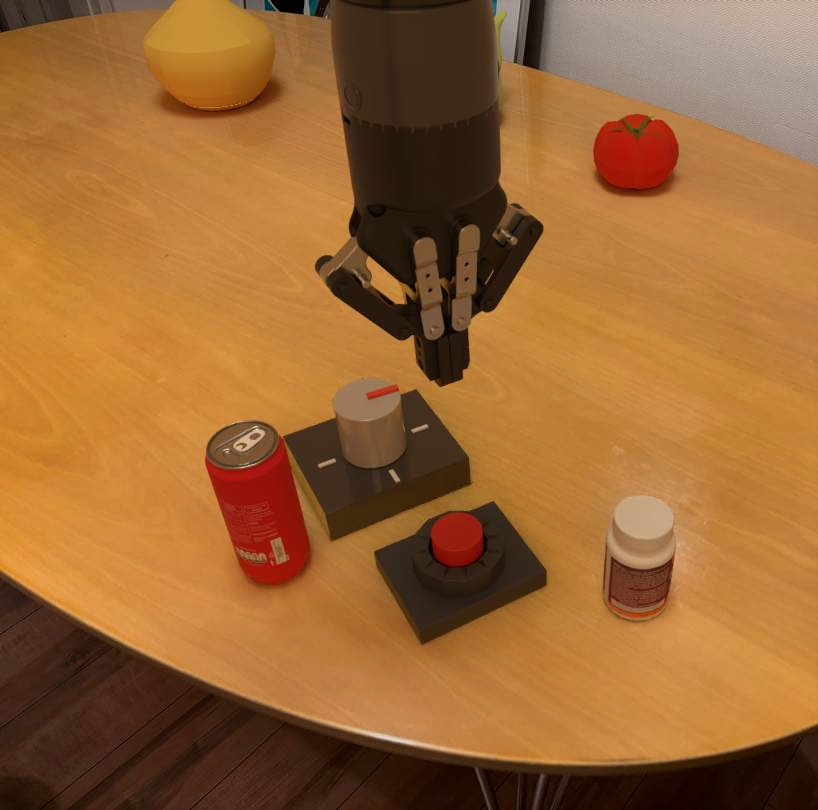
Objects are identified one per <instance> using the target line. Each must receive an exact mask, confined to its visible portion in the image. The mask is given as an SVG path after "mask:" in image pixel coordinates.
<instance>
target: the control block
mask: <svg viewBox="0 0 818 810" xmlns="http://www.w3.org/2000/svg"><path fill="white" fill-rule="evenodd" d="M451 513H466V514H469V515H472V516H474V517H475V518H476V519H477V520H478V521H479V522H480V523H481V526H482V530H483V552H482V554H481V556H480V557H479V558H478V559H477V560H476V561H475V562H473V563H472V564H470V565H467V566H464V567H450V566H446V565H444V564H442V563H440V562H439V561H438V560H437V559H436V557H435V556H434V553H433V547H432V538H431V530H432V527H433V525H434V524H435V522H436V521H437V520H438V519H440V518H441V517H443V516H445V515H447V514H451ZM373 554H374V560H375V565H376V568H377V570H378V572H379V573H380V575H381V576H382V579H383V580H384V582H385V584H386V585H387V587H388V589H389V591H390V592H391V594H392V596H393V598H394V599H395V601H396V602H397V604H398V606H399V609H400V610H401V612H402V613H403V615H404V616H405V618H406V620H407V622H408V623H409V625H410V627H411V629H412V631H413V632H414V634H415V636H416V638H417V639H418V641H419V642H420V644H421V645H424V644H426V643H428V642H431V641H433V640H435V639H436V638H439V637H441V636H444V635H445V634H447V633H450V632H451V631H454V630H456V629H458V628H460V627H462V626H464V625H466V624H468V623H471V622H472V621H475V620H477V619H479V618H481V617H483V616H485V615H487V614H489V613H491V612H493V611H495V610H498V609H500V608H502V607H504V606H506V605H508V604H510V603H512V602H514V601H516V600H518V599H521V598H522V597H525V596H527V595H529V594H531V593H534V592H536V591H537V590H539V589H541V588H543V587H545V586H547V579H548V577H547V576H548V575H547V573H548V570H547V569H546V568H545V566H544V565H543V564H542V562H541V561H540V560H539V559H538V557H537V555H536V554H535V553H534V552H533V550H532V549H531V548H530V546H529V545H528V544H527V543H526V541H525V540H524V538H523V537H522V536H521V535H520V533H519V532H518V530H517V529H516V528H515V527H514V526H513V524H512V523H511V522H510V520H509V519H508V518H507V516H506V515H505V513H504V512H503V511H502V510H501V508H500V507H499V506H498V504H497V503H496V502H495V500H492V501H489V502H487V503H485V504H483V505H480V506H478V507H475V508H473V509H471V510H448V511H445V512H443V513H441V514H438V515H435V516H433V517H431V518H428V519H427V520H426V521H424V523H423V524H422V525H421V526H420V528H419V529H418V530H417V531H416V532H415V533H414V534H412V535H409V536H407V537H405V538H402V539H399V540H397V541H395V542H392V543H390V544H388V545H386V546H384V547H380V548H378V549H376V550H374V551H373Z"/></svg>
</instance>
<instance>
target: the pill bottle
mask: <svg viewBox="0 0 818 810" xmlns="http://www.w3.org/2000/svg"><path fill="white" fill-rule="evenodd" d="M612 516H613V517H612V523H611V525H609V527H608V530H607V531H606V534H605V546H604V547H605V549H604V563H603V577H602V578H603V579H602V596H603V600H604V602H605V604H606V606H607V607H608V609H609V610H610V611H611V612H612V613H614V614H615V615H616V616H618V617H620V618H622V619H624V620H628V621H638V622H639V621H646V620H650V619H653V618H656V617H657V616H659V615H660V614H661V613H662V612H663V611H664V610H665V609H666V606H667V604H668V601H669V597H670V592H671V591H670V590H671V584H672V578H673V572H674V564H675V558H676V551H677V538H676V537H677V536H676V534H675V532H674V531H675V530H674V529H675V528H674V527H675V515H674V512H673V510H672V509H671V507H670V506H669V505H668V504H667V503H666V502H665V501H664V500H662V499H660V498H658V497H655V496H651V495H646V494H637V495H632V496H628V497H625V498H624V499H622V500H621V501H620V502H619V503H618V504H617V505H616V507H615V508H614V511H613V515H612Z"/></svg>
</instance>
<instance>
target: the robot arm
mask: <svg viewBox="0 0 818 810" xmlns="http://www.w3.org/2000/svg"><path fill="white" fill-rule="evenodd" d="M329 3H330V6H329V7H330V44H331V53H332V58H333V59H332V60H333V67H334V74H335V81H336V88H337V94H338V101H339V109H340V114H341V115H340V116H341V123H342V126H343V127H342V128H343V135H344V141H345V142H344V143H345V148H346V154H347V155H346V156H347V162H348V169H349V177H350V185H351V190H352V195H353V208H352V212H351V215H350V217H349V221H348V233H349V236H350V238H349V239H348V240H347V241H346V242H345V243H344V245H342V246H341V248H340V249H339V250H338V251H337V252H336V253H335V255H334V256H333V255H331V254H325V255H322V256H320V257H319V258H317V259H316V261H315V264H314V270H315V272H316V274H317V275H318V276H319V278H320V280H321V281H322V282H323V283H324V285H325V286H326V288H328V289H329V291H330V292H331V294H332V295H333V296H334V297H336V298H337V299H339V300H340V301H341V302H342V303H344V304H346V305H347V306H348V307H350V308H351V309H353V310H354V311H355V312H357V313H359V315H361V316H363V317H364V318H366V319H367V320H368V321H370V322H371V323H373V324H374V325H375V326H377V327H378V328H380V329H381V330H382V331H384V332H386V333H387V334H388V335H390V336H391V337H393V338H394V339H396V340H397V341H401V342H403V341H406V340H408V339H409V338H411V337H412V336H413V344H414V353H415V362H416V365H417V366H418V368H419V369H420V370H421V371H422V373H423V374H424V375H425V377H426V378H427V379H428V381H429V382H433V381H434V383H435V384H436V385H437V387H439V388H443V387H446V386H448V385H451V384H455V383H457V382H460V381H462V380H464V371H465V370H468V369H469V367H470V366H469V365H470V364H471V363H470V362H471V355H470V354H471V353H470V335H469V327H470V325H471V324H472V320H473V318H474V317H476V316H477V315H479V314H480V313H481V312H483V313H486V314H487V313H488V314H489V313H491V312H493V311H494V310H496V309H497V307H498V306H499V304H500V303H501V301H502V300H503V297H504V296H505V295H506V293H507V291H508V290H509V288H510V286H511V285H512V284H513V282H514V281H515V279H516V277H517V275H518V274H519V272H520V270H521V269H522V268H523V266H524V264H525V263H526V261H527V259H528V257H529V256H530V255H531V253H532V251H533V250H534V248H535V247H536V245H537V243H538V241H539V240H540V239H541V237H542V236H543V233H544V231H545V229H544V228H545V227H544V224H543V223H542V222H541V221H540V220H539V219H538V218H536V217H535V216H534V215H533V214H532V213H531V212H529V211H528V210H527V209H526V208H524V207H523V206H522V205H520V203H517V202H513V203H508V196H507V193H506V192H505V190H504V189H503V186H502V185H501V183H500V177H501V172H502V156H501V155H502V154H501V122H500V119H501V118H500V117H501V116H500V110H499V82H498V79H499V75H500V72H501V70H500V66H499V61H498V48H497V34H496V27H495V20H494V17H495V15H494V8H493V1H492V0H329ZM368 258H370V259H371V260H372V261H374V262H375V263H376V264H377V265H378V266H379V267H381V268H382V269H383V270H385V272H387V273H388V274H389V275H390V276H391V277H393V279H395V280H396V281H397V282H398V285H399V287H400V289H401V292H402V297H403V302H404V303H395V301H393V299H391V298H390V297H388V296H387V295H385V294H384V293H383V292H382V291H380V290H379V289H378V288H376V287H375V286H374V285H372V283H371V282H372V279H373V274H372V272H371V270H370V269H369V268H368V266H367V260H368Z"/></svg>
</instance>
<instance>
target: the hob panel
mask: <svg viewBox="0 0 818 810" xmlns="http://www.w3.org/2000/svg"><path fill="white" fill-rule="evenodd" d="M400 394H401V401H402V408H403V416H404V424H405V431H406V439H407V446H406V449H405V451H404V453H403V454H402V455H401V456H400V458H398V459H397V460H396V461H394V462H393V463H391V464H388V465H386V466H382V467H378V468H362V467H358V466H355V465H353V464H351V463H349V462H348V461H347V460H346V459H345V458H344V456H343V454H342V450H341V445H340V440H339V435H338V430H337V425H336V419H335V417H333V418H329V419H327V420H324V421H321V422H319V423H315V424H313V425H311V426H307V427H305V428H302V429H299V430H296V431H293V432H291V433H288V434H284V435H282V438H283V440H284V442H285V446H286V450H287V454H288V458H289V462H290V466H291V470H292V472H294V474H295V476H296V478H297V480H298V482H299V484H300V485H301V488H302V489H303V491H304V493H305V495H306V496H307V499H308V501H309V502H310V504H311V506H312V508H313V510H314V512H315V514H316V515H317V517H318V519H319V521H320V522H321V525H322V526H323V528H324V530H325V532H326V534H327V536H328V537H329V539H330V541H334V540H337V539H339V538H341V537H344V536H347V535H349V534H351V533H354V532H356V531H359V530H362V529H363V528H366V527H369V526H371V525H373V524H376V523H378V522H380V521H381V522H382V521H383V520H386V519H388V518H391V517H393V516H395V515H398V514H400V513H403V512H405V511H407V510H410V509H412V508H415V507H418V506H420V505H422V504H425V503H427V502H430V501H431V500H435V499H437V498H439V497H442V496H444V495H446V494H449V493H452V492H454V491H456V490H459V489H461V488H464V487H466V486H469V485H471V484H472V480H471V478H472V477H471V466H470V457H469V455H468V454H467V453H466V451H465V449H463V447H462V446H461V444H460V443H459V442H458V441H457V439H456V438H455V437H454V435H453V434H452V433H451V432H450V430H449V429H448V428H447V427H446V425H445V424H444V422H443V421H442V420H441V419H440V417H439V416H438V415H437V413H436V412H435V411H434V409H432V407H431V406H430V405H429V403H428V402H427V401H426V399H425V398H424V396H423V395H422V394H421V392H420V391H419V390H418V389H417V388H415V389H413V390H409V391H407V392H403V393H400Z"/></svg>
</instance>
